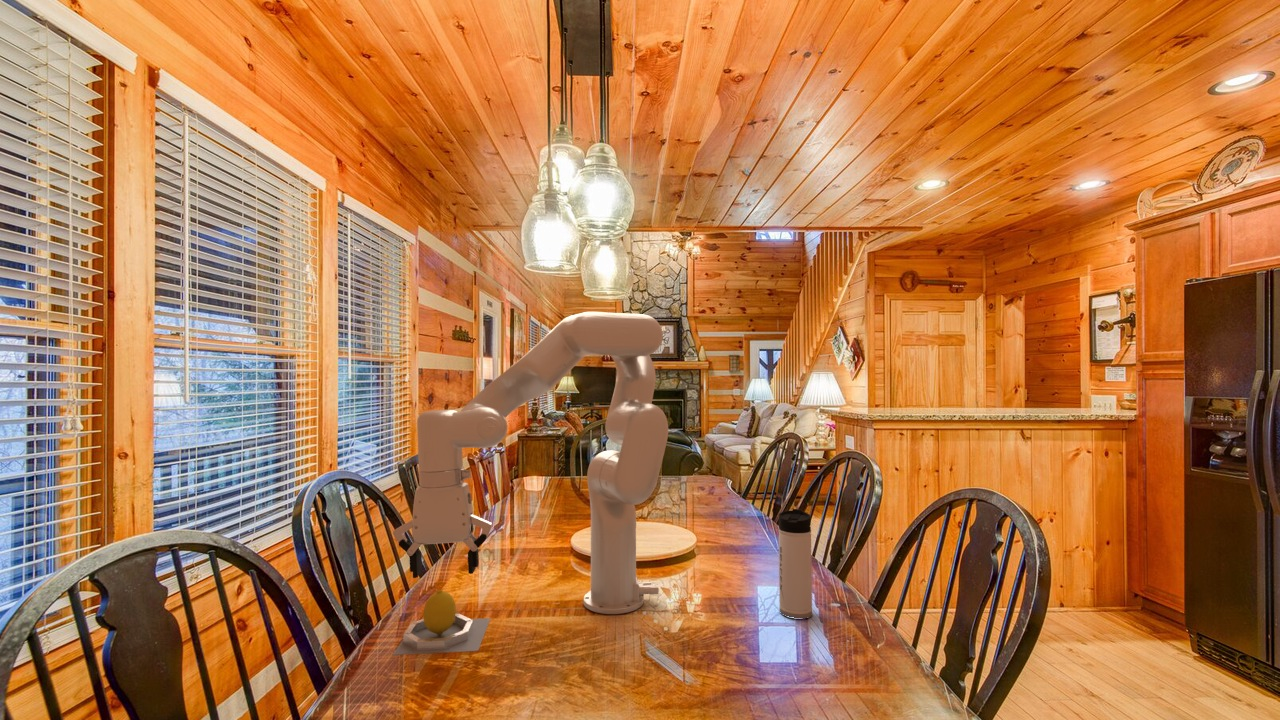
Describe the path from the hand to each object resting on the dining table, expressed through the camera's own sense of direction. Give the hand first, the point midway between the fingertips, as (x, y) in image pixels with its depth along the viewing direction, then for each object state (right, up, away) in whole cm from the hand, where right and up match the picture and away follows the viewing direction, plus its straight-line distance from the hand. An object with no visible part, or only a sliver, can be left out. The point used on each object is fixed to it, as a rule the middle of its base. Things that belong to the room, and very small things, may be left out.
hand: (445, 573), depth 102 cm
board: (0, -12, -1) cm, 12 cm away
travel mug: (+66, -12, +11) cm, 68 cm away
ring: (-1, -11, -1) cm, 11 cm away
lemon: (-1, -11, -1) cm, 11 cm away
